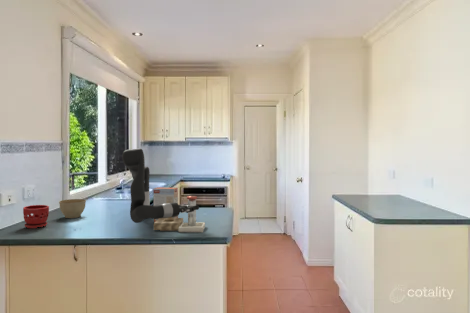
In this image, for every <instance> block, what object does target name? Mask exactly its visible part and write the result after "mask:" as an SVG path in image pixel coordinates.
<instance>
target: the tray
mask: <svg viewBox="0 0 470 313" xmlns="http://www.w3.org/2000/svg"><path fill="white" fill-rule="evenodd" d="M205 228H206V221H205V222H202V221H201V222H197V221H196V226H188V222H183V223H182V224H181V225H180V227H179V230H178V233H204V230H205Z"/></svg>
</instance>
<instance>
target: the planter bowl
mask: <svg viewBox="0 0 470 313" xmlns="http://www.w3.org/2000/svg"><path fill="white" fill-rule="evenodd" d="M58 203H59V209H60V211H61V213H62V215H63V216H64V218H65V219H76V218H80V217H81V216H82V214H83V212H84V210H85V208H86V203H87V200H86V199H84V198H83V199H82V198H81V199H80V198H73V199H71V198H70V199H63V200H59V201H58Z"/></svg>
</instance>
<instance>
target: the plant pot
mask: <svg viewBox="0 0 470 313" xmlns="http://www.w3.org/2000/svg"><path fill="white" fill-rule="evenodd" d="M22 213H23V219H24V222H25V223H24V227H25V228H26V227H27V229H38V228H37V227H41V228H44V227H46V226H47V225H48V222H47V221H48V218H49V214H50V206H49V205H48V204H47V205H46V204H35V205H34V204H33V205H27V206H26V205H25V206H24V207H23V209H22ZM43 226H44V227H43Z"/></svg>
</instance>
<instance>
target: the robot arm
mask: <svg viewBox="0 0 470 313" xmlns="http://www.w3.org/2000/svg"><path fill="white" fill-rule="evenodd" d="M121 158H122V163H123V165H124V166H125V167H126V168H127V170H128V171H129V172H130V173H131V176H132V182H131V185H130V188H129V191H130V209H129V215H130V220H131V221H132V222H133V223H136V224H140V223H142V222H143V221H144V220H146V219H152V220H154V219H159V218H170V217H176V216H178V217H179V216H180V214H184V213H186V214H188V213H189V212H193V211H194V210H196V211H197V210H198V211H199V209H200V205H198V204H196V206H189V205H188V204H184V203H183V204H179V202H178V203H176V202H175V203H166V204H161V205H154V204H153V205H151V204H150V199H151V198H150V168H149V167H148V166H145V160H146V159H145V154H144V150H143V149H142V148H131V149H130V148H129V149H125V150H124V151H123V152H122V156H121Z"/></svg>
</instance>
